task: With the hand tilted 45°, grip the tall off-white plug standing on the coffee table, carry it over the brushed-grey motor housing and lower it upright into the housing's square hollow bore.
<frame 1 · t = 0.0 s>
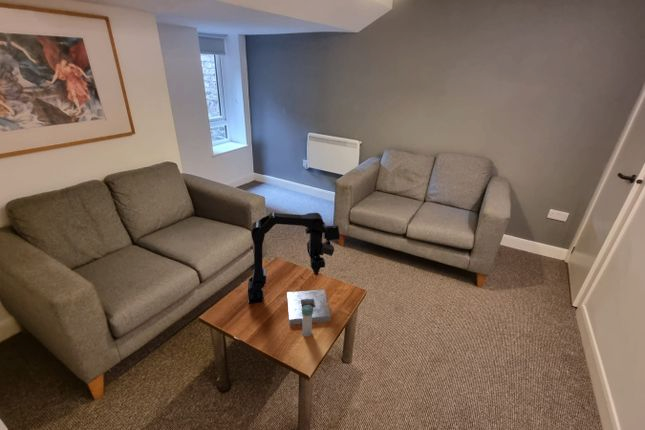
hand: (315, 269, 147), 14 cm above the table, tool pointing down, fingers open, 9 cm apart
housing: (307, 308, 144), on the table
plug: (307, 333, 130), on the table
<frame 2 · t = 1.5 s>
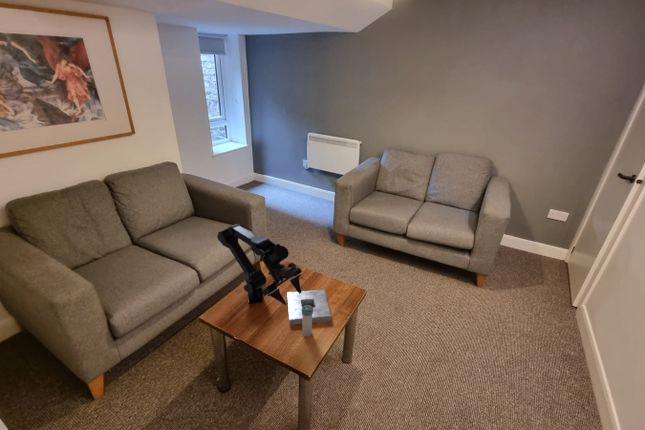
hand: (293, 298, 130), 13 cm above the table, tool tilted 45°, fingers open, 9 cm apart
nothing on the table moved.
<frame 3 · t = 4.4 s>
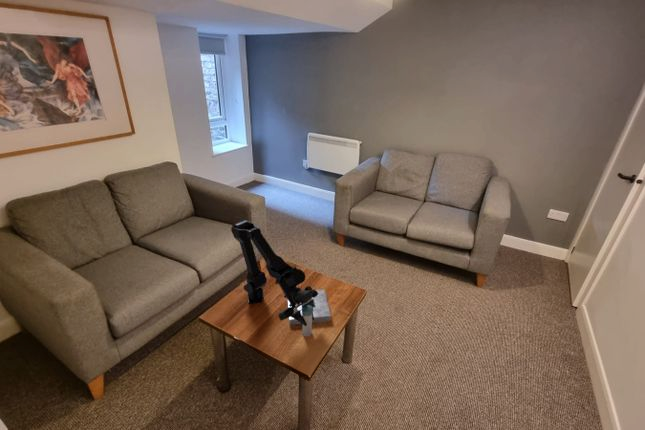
hand: (309, 322, 127), 7 cm above the table, tool tilted 45°, fingers closed on plug, 4 cm apart
plug: (307, 333, 130), on the table, touching gripper
when the fingers open (8 cm above the table, at t = 8.5 s): plug drops 1 cm, resting in housing.
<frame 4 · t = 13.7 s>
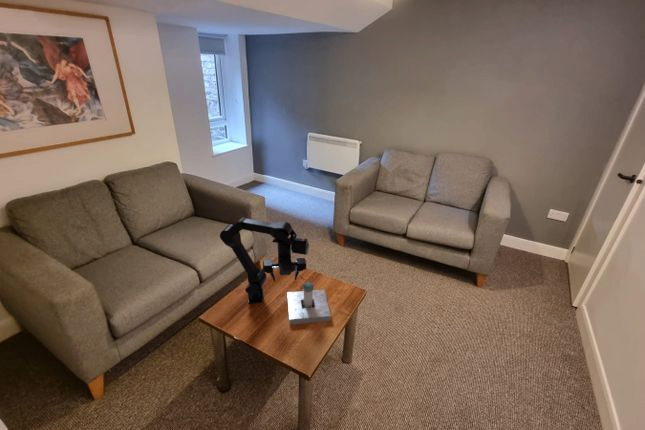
hand: (285, 280, 141), 13 cm above the table, tool pointing down, fingers open, 9 cm apart
plug: (307, 308, 144), resting in housing
at the end: plug 0.0 cm off-centre on the housing, point 0.0 cm above the housing's base; plug tilted 0°; the gripper is holding nothing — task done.
